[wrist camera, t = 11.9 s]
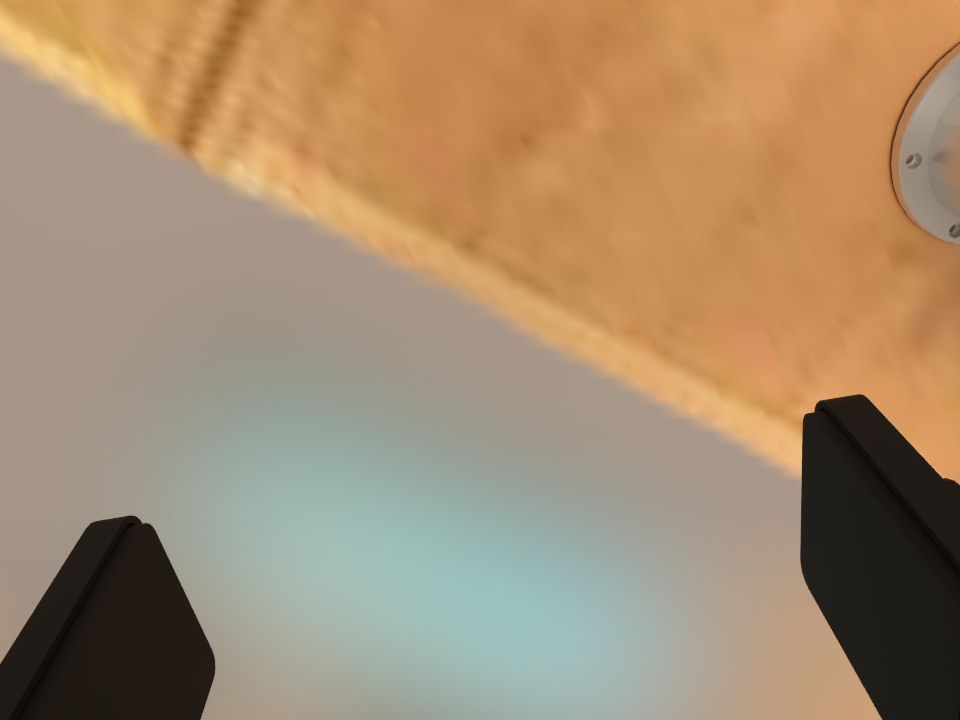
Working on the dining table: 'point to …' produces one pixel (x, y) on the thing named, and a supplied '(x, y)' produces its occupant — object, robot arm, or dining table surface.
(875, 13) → the dining table surface
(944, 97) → the robot arm
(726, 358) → the dining table surface
